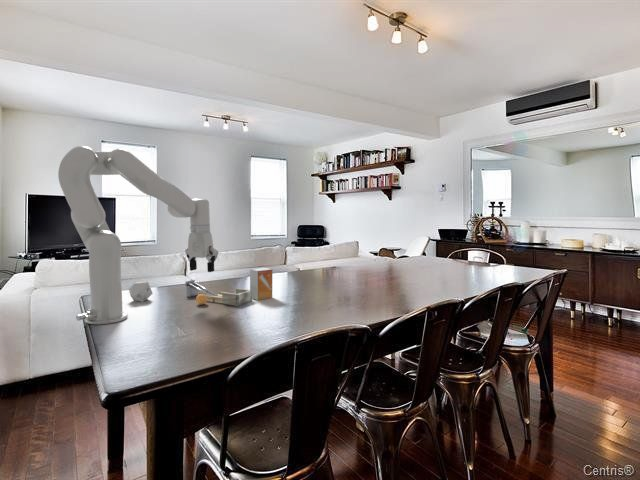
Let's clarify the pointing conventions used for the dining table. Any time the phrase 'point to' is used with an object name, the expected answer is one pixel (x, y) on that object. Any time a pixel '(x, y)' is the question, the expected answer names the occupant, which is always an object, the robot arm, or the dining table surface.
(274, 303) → the dining table surface
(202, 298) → the ball
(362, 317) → the dining table surface
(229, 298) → the lane
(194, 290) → the ramp
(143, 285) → the die
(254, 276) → the small box
